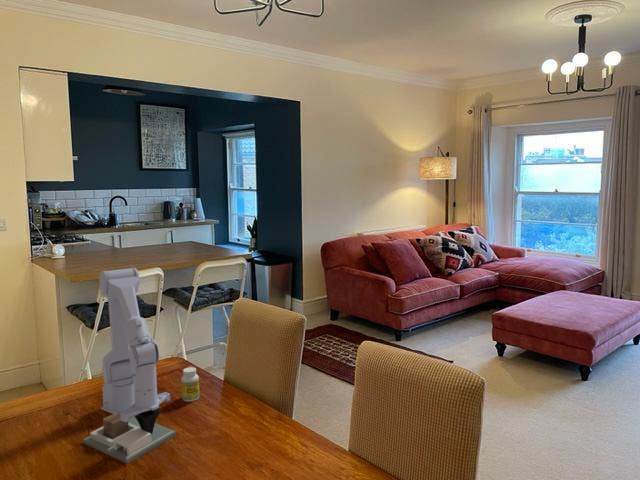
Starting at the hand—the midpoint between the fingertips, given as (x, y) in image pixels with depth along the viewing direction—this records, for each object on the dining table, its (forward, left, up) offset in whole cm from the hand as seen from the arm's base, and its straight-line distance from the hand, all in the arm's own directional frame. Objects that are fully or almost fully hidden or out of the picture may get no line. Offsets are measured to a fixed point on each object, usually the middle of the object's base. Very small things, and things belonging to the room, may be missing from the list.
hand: (147, 435), depth 135 cm
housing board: (-5, -1, -2) cm, 6 cm away
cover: (0, -5, -1) cm, 5 cm away
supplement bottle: (-9, +25, -2) cm, 26 cm away
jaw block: (-9, -3, -2) cm, 10 cm away
